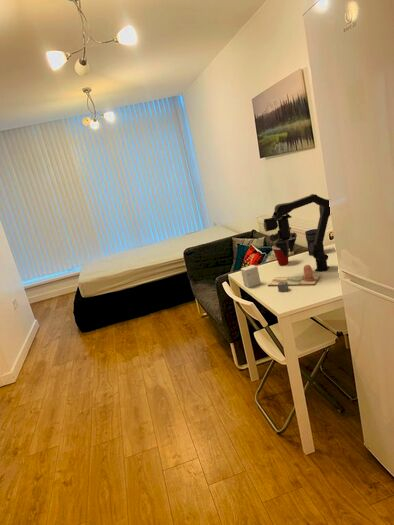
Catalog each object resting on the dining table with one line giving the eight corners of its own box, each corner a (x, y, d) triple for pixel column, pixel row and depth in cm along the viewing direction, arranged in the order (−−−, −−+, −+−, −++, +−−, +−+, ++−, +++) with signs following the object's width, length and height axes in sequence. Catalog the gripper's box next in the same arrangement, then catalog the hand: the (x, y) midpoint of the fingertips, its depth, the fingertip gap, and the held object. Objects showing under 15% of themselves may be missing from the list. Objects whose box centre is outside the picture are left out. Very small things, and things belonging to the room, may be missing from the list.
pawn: (306, 278, 207) (303, 263, 205) (315, 278, 204) (312, 263, 202) (303, 281, 203) (301, 266, 201) (312, 281, 200) (310, 266, 198)
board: (275, 278, 220) (275, 277, 220) (320, 276, 206) (320, 275, 206) (267, 286, 210) (267, 285, 210) (314, 285, 196) (314, 283, 196)
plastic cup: (293, 265, 236) (290, 246, 233) (275, 268, 238) (272, 249, 235) (292, 260, 246) (289, 242, 243) (275, 263, 248) (271, 245, 245)
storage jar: (308, 252, 254) (305, 230, 251) (324, 250, 251) (321, 227, 247) (308, 256, 245) (304, 234, 242) (324, 254, 242) (320, 231, 238)
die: (281, 289, 202) (280, 282, 201) (288, 288, 200) (287, 281, 199) (278, 292, 199) (277, 284, 198) (286, 291, 197) (284, 284, 196)
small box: (256, 281, 222) (252, 264, 220) (261, 283, 217) (257, 266, 215) (244, 286, 220) (240, 268, 218) (248, 288, 215) (245, 270, 212)
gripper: (275, 224, 221) (280, 250, 225) (263, 233, 206) (269, 260, 210) (294, 222, 215) (299, 249, 219) (283, 231, 200) (288, 259, 204)
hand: (288, 254), depth 213 cm, fingers open, 9 cm apart
